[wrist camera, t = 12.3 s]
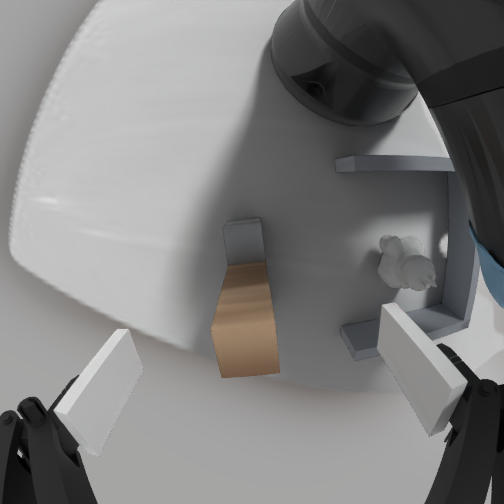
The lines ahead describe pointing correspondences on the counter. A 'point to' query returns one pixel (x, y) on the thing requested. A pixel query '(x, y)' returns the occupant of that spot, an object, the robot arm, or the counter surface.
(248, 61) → the counter surface
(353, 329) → the box
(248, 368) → the scraper
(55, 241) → the counter surface
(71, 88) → the counter surface
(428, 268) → the rubber duck
